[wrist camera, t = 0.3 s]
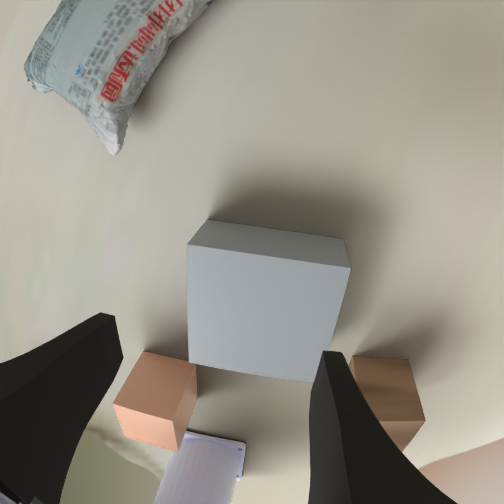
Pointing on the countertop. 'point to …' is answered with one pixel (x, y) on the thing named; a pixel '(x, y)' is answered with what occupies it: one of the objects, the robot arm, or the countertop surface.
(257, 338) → the slate base block
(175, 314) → the countertop surface
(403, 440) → the walnut block
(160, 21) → the packaged food
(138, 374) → the terracotta block
